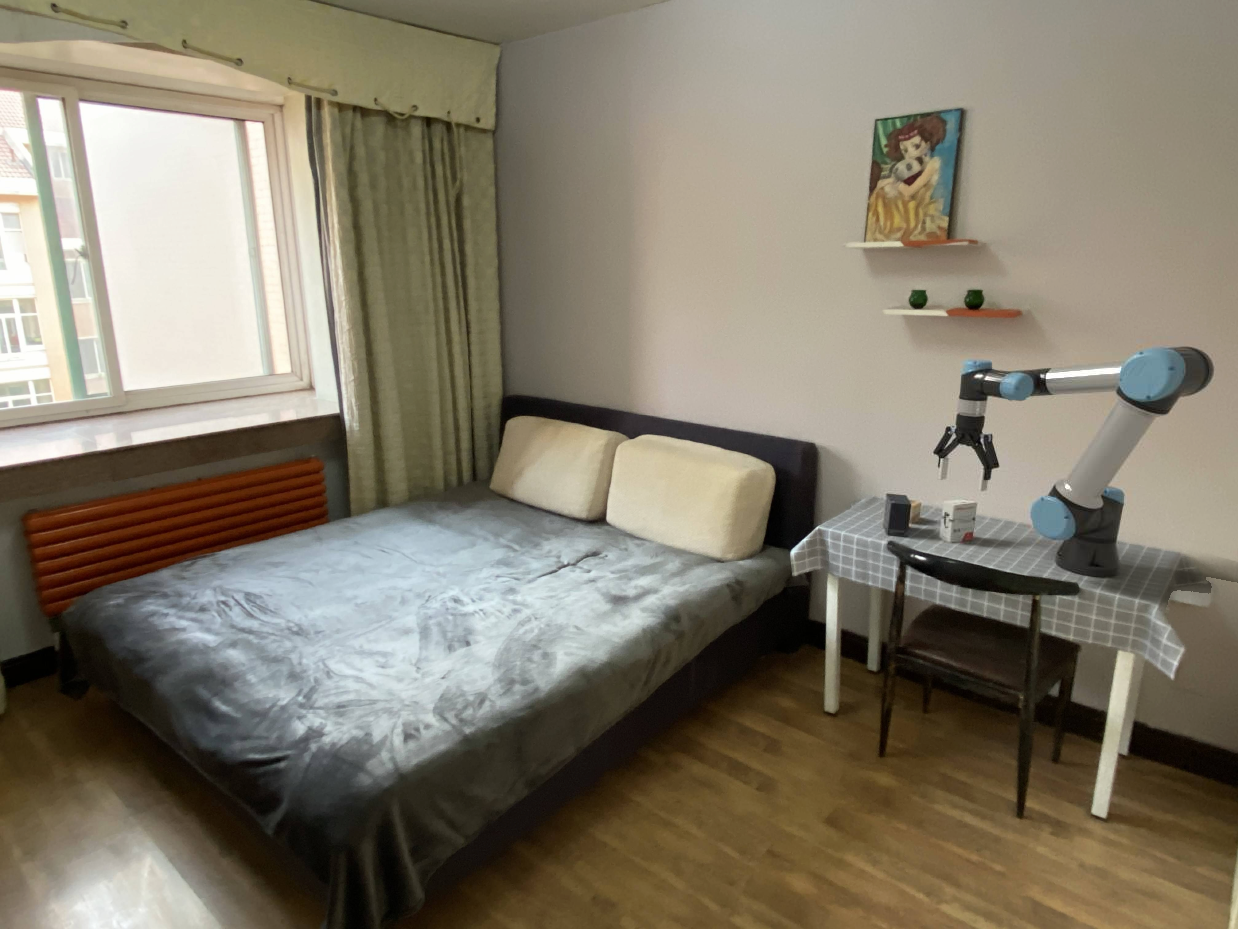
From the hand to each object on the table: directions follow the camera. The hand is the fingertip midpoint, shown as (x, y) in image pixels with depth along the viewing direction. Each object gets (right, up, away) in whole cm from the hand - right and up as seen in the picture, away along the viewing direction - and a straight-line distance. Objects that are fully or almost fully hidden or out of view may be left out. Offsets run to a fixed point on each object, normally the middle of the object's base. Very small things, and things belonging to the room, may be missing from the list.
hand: (961, 484), depth 225 cm
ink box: (0, -17, +4) cm, 17 cm away
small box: (-16, -15, +11) cm, 24 cm away
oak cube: (-8, -12, +22) cm, 26 cm away
